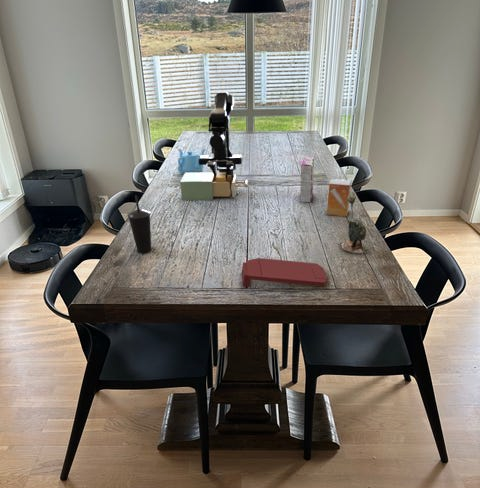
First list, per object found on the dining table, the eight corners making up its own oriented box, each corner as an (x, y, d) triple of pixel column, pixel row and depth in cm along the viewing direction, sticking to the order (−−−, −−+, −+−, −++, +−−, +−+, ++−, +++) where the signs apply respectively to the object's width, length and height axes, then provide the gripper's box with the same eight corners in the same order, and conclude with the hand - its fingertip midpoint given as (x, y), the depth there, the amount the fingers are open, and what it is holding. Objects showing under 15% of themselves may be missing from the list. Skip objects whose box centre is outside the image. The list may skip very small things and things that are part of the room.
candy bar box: (301, 193, 204) (303, 157, 196) (312, 194, 203) (314, 157, 195) (299, 202, 195) (300, 164, 186) (311, 203, 194) (313, 164, 185)
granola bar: (226, 178, 206) (226, 171, 204) (225, 184, 199) (225, 177, 198) (217, 178, 206) (217, 171, 205) (216, 184, 199) (215, 177, 198)
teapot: (174, 175, 234) (172, 155, 229) (180, 166, 247) (178, 147, 242) (202, 175, 233) (201, 155, 228) (206, 166, 246) (205, 147, 241)
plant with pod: (346, 258, 149) (353, 200, 139) (337, 243, 159) (343, 188, 148) (370, 256, 149) (378, 198, 139) (360, 242, 159) (367, 187, 149)
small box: (326, 215, 182) (328, 183, 175) (328, 209, 187) (331, 178, 180) (346, 216, 179) (350, 184, 173) (348, 211, 185) (351, 180, 178)
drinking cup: (145, 257, 154) (136, 200, 143) (128, 252, 157) (119, 197, 147) (159, 248, 159) (152, 193, 149) (143, 243, 163) (135, 190, 152)
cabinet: (215, 190, 212) (214, 172, 208) (212, 199, 201) (211, 181, 196) (186, 190, 213) (185, 172, 209) (181, 200, 201) (180, 181, 197)
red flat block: (317, 277, 146) (241, 270, 143) (321, 263, 143) (243, 256, 141) (325, 296, 135) (243, 289, 133) (329, 282, 133) (245, 275, 130)
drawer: (248, 188, 210) (248, 174, 207) (247, 197, 200) (247, 182, 196) (209, 188, 211) (208, 174, 208) (206, 197, 201) (205, 182, 197)
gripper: (242, 138, 201) (243, 173, 209) (200, 139, 202) (203, 174, 210) (240, 144, 191) (241, 181, 199) (197, 145, 192) (199, 181, 200)
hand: (221, 179), depth 202 cm, fingers closed on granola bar, 4 cm apart
